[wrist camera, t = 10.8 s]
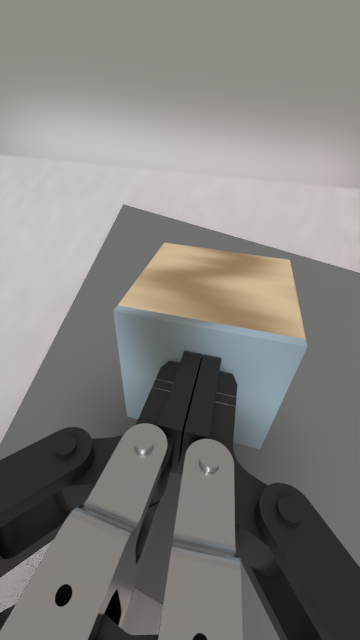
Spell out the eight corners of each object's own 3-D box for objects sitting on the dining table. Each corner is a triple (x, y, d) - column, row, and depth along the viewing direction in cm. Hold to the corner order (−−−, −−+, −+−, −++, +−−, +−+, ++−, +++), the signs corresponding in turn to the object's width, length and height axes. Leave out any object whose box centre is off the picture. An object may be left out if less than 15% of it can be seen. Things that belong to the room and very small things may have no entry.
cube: (113, 310, 10) (164, 242, 16) (127, 416, 14) (163, 334, 20) (307, 346, 9) (289, 260, 15) (260, 449, 13) (260, 352, 19)
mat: (-20, 490, 19) (-25, 492, 18) (124, 207, 24) (123, 204, 23) (379, 726, 14) (384, 736, 13) (456, 304, 19) (461, 302, 18)
